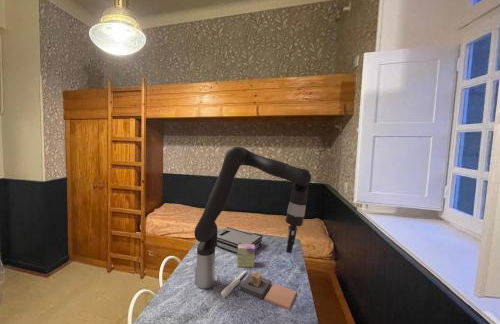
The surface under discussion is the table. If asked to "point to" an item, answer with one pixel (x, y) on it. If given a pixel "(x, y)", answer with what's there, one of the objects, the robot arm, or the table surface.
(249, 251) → the box
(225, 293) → the toothed blade
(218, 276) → the table surface
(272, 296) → the terracotta tile
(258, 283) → the oak block
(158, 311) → the table surface
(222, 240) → the game console
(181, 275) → the table surface
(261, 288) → the pocket frame
